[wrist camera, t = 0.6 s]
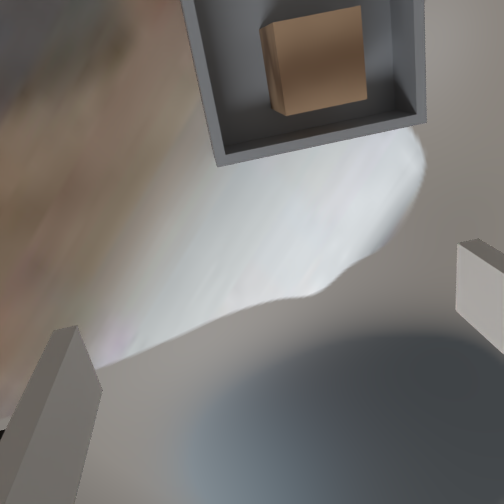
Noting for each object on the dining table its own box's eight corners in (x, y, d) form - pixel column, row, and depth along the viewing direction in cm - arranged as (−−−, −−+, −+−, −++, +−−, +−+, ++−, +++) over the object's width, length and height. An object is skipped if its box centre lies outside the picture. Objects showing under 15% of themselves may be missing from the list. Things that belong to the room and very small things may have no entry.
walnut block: (258, 29, 35) (272, 22, 29) (333, 15, 35) (360, 5, 29) (271, 108, 37) (286, 116, 31) (340, 94, 37) (367, 99, 32)
